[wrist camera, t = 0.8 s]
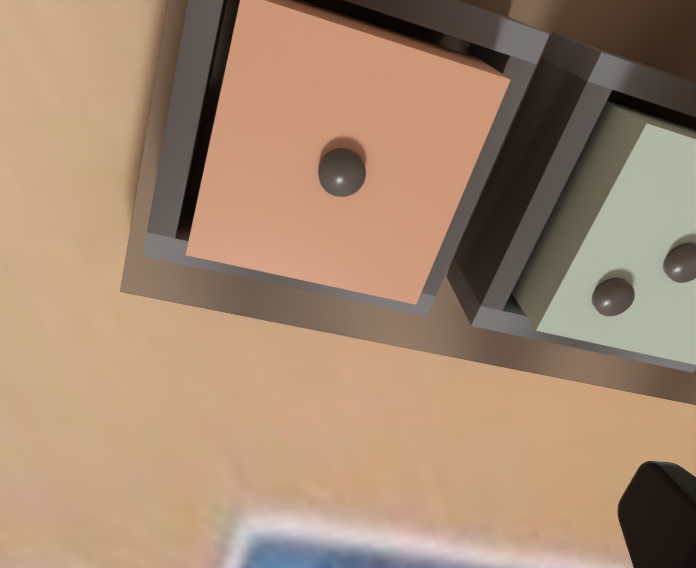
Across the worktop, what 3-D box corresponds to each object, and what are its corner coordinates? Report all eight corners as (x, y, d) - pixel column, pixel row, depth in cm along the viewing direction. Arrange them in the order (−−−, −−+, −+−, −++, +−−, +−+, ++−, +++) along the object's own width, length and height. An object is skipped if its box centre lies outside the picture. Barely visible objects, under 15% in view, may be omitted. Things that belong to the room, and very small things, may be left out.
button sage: (776, 155, 15) (848, 189, 13) (667, 324, 18) (715, 373, 16) (600, 98, 14) (652, 126, 12) (507, 287, 16) (539, 335, 14)
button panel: (1006, 88, 19) (1192, 132, 15) (769, 391, 25) (863, 479, 21) (217, -232, 13) (197, -292, 10) (133, 257, 19) (99, 346, 15)
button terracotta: (478, 58, 13) (514, 82, 11) (399, 262, 16) (418, 309, 14) (245, -19, 12) (241, -6, 10) (195, 214, 14) (184, 260, 13)
